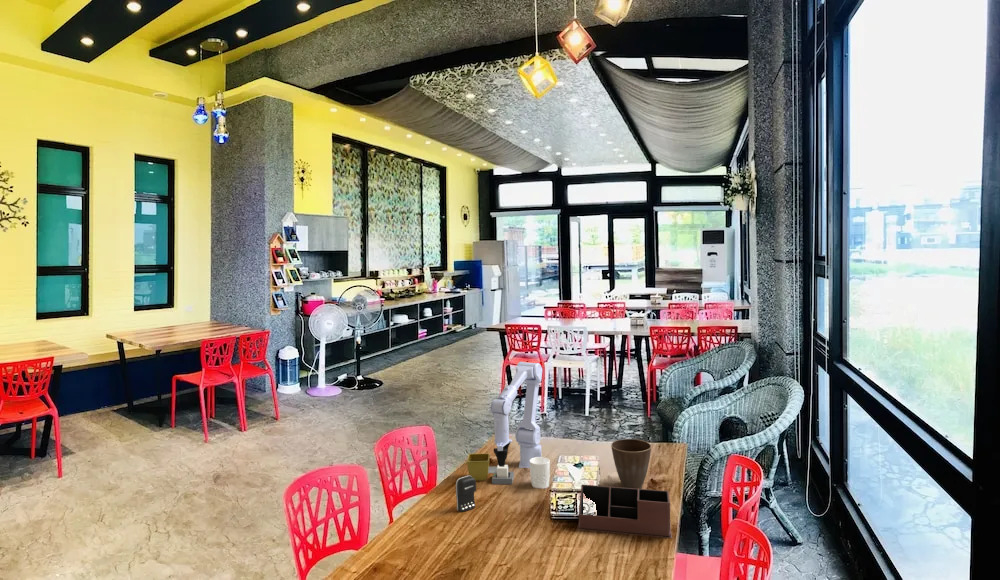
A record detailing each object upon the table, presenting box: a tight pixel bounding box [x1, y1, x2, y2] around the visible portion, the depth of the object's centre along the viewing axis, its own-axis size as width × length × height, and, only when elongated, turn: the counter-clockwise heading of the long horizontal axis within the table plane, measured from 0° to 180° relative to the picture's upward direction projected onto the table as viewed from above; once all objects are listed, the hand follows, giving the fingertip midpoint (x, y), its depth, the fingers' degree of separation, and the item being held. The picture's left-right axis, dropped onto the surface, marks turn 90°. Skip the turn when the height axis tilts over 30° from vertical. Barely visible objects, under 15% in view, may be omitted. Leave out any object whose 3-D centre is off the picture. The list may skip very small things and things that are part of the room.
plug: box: [497, 464, 509, 478], centre depth 223 cm, size 4×4×6 cm
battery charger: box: [455, 474, 477, 513], centre depth 198 cm, size 7×4×11 cm, turn 126°
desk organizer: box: [577, 484, 673, 539], centre depth 182 cm, size 10×29×11 cm, turn 75°
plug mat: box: [488, 465, 510, 474], centre depth 235 cm, size 9×8×1 cm
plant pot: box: [610, 438, 652, 489], centre depth 214 cm, size 15×15×16 cm
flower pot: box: [466, 452, 491, 482], centre depth 226 cm, size 9×9×9 cm
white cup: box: [529, 456, 551, 489], centre depth 217 cm, size 8×8×10 cm
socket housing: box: [491, 470, 515, 485], centre depth 223 cm, size 8×8×3 cm
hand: (502, 462), depth 223 cm, fingers open, 7 cm apart
